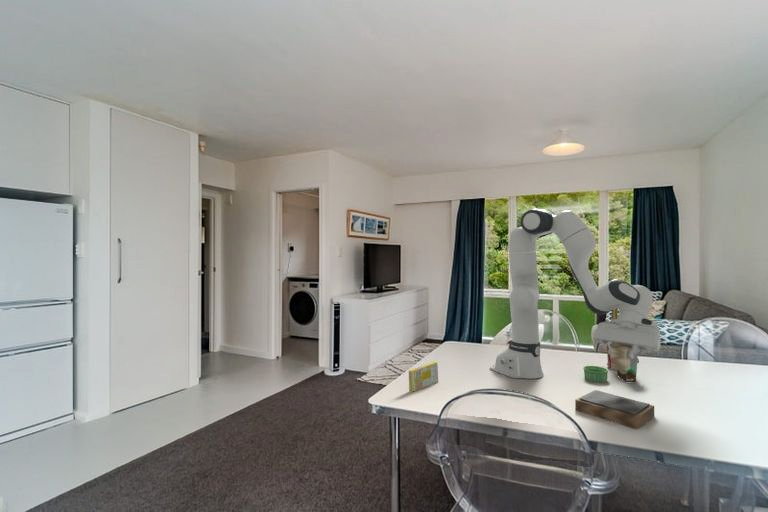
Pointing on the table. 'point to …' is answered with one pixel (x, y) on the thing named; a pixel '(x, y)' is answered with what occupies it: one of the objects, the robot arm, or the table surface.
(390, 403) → the table surface
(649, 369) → the table surface
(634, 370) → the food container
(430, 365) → the candy box
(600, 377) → the ramekin
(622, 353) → the tan cylinder
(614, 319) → the liquor
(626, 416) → the brown flat block
